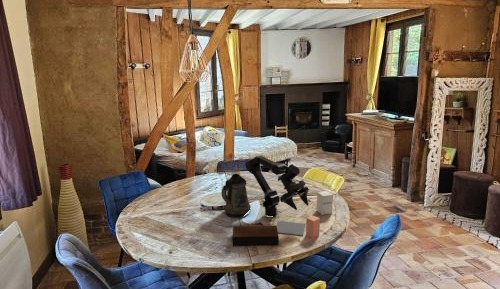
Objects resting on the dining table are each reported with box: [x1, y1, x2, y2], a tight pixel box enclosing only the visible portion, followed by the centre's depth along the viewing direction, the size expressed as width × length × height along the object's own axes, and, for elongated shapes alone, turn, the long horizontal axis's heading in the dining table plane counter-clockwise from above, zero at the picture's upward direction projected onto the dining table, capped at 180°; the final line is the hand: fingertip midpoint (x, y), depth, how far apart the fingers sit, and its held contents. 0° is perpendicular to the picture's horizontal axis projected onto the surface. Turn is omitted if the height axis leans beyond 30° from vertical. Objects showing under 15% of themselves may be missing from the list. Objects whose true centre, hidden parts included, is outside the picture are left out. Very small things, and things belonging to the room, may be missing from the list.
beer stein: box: [220, 173, 252, 219], centre depth 207 cm, size 16×19×25 cm
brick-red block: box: [305, 214, 321, 239], centre depth 180 cm, size 5×5×10 cm
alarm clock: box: [231, 224, 280, 248], centre depth 176 cm, size 24×12×6 cm, turn 91°
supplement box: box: [316, 190, 334, 216], centre depth 209 cm, size 7×7×13 cm
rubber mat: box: [275, 220, 306, 237], centre depth 189 cm, size 16×14×1 cm
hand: (302, 207), depth 184 cm, fingers open, 9 cm apart
